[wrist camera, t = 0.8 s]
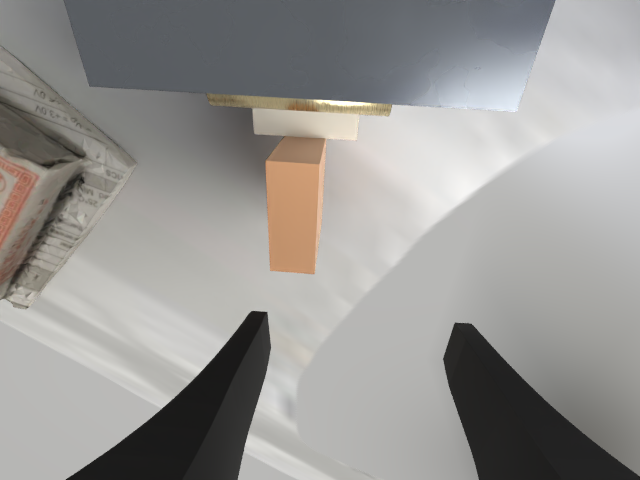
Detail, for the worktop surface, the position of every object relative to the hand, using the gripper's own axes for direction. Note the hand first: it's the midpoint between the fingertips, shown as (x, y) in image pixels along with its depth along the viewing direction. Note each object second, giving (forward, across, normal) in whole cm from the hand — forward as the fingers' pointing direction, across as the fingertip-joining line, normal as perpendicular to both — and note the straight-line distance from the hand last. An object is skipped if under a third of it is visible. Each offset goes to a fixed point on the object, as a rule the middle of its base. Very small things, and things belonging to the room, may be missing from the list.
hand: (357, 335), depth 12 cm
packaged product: (+10, +23, -1) cm, 25 cm away
